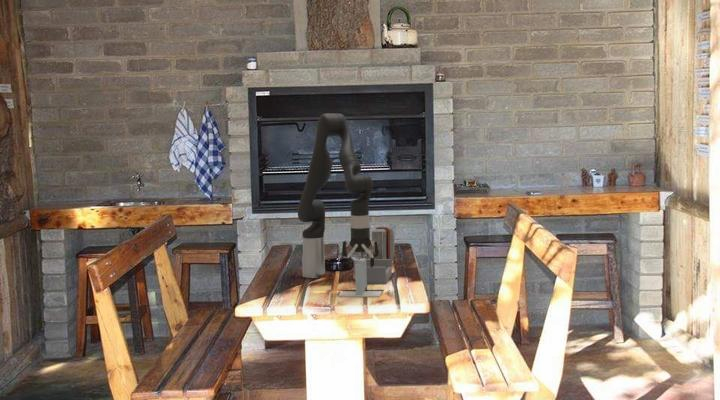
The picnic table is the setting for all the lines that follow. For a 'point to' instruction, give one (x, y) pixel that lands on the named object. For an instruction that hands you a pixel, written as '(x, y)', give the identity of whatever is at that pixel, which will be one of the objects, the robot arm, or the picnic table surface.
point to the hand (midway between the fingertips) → (361, 267)
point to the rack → (378, 271)
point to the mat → (366, 294)
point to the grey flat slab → (361, 276)
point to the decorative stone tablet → (384, 242)
